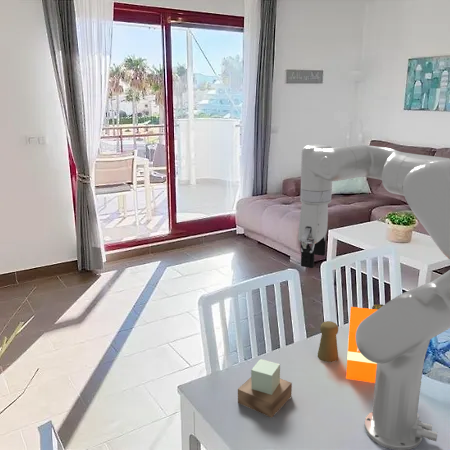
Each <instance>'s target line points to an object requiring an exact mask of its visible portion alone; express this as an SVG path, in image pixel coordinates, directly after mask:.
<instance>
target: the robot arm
mask: <svg viewBox="0 0 450 450" xmlns="http://www.w3.org/2000/svg"><path fill="white" fill-rule="evenodd" d="M300 166H301V167H300V194H299V195H300V202H301V205H300V213H299V214H300V215H299V223H298V237H297V239H298V241H299V242H300V243H301V244H300V247H301V248H300V253H301V254H300V266H301V268H302V267H303V268H309V269H313V268H314V267H315V255H317V256H321V257H324V256H325V255H326V246H327V245H326V244H327V241H326V239H327V236H326V235H327V232H328V222H329V206H328V205H329V204H331V203H332V191H333V190H332V189H333V182H338V181H339V182H341V181H345V180H351V179H355V178H370V179H375V180H380V181H381V182H382V185H383V188H384V189H385V190H386V191H387V192H388V193H390V194H394V195H399V196H403V197H404V198H405V201H406V203H407V204H408V206H409V208H410V210H411V211H412V213H413V214H414V216H415V217H416V219H417V220H418V221H419V223H420V224H421V226H423V228H424V230H425V231H426V232H427V233H428V235H429V236H430V238H431V239H432V240H433V242H434V243H435V245H436V246H437V247H438V249H439V250H440V252H441V253H442V254H443V255H444V256H445V257H446V258H447V259H448V260H450V158H448V157H443V156H442V157H441V156H434V155H426V154H419V153H418V154H417V153H413V152H412V153H411V152H403V151H399V150H396V149H394V148H390V147H385V146H376V145H375V146H374V145H367V144H356V145H355V144H354V145H346V146H340V147H339V146H338V147H332V146H330V145H328V144H307V145H305V146H304V147H303V148H302V150H301V164H300ZM383 305H384V306H382V307H381V308H379V309H378V310H377V311H375V312H374V313H372V314H371V315H370V316H368V317H367V318H366V319H364V320H363V321H362V322H361V323H360V324H359V326H358V328H357V331H356V344H357V347H358V350H359V351H360V353H361V354H362V355H363V356H364V357H365V358H366V359H368V360H370V361H372V362H375V363H377V366H376V377H375V383H374V390H373V391H374V393H373V400H372V402H373V403H372V411H371V412H369V413H368V414H367V415H366V416H365V418H364V430H365V431H366V434H367V435H368V437H369V438H370V439H371V440H373V442H375V443H376V444H377V445H380V446H381V447H384V448H387V449H390V450H413V449H415V448H417V447H418V446H419V445H420V444H421V443H422V440H423V438H425V439H427V440H429V441H433V442H438V441H437V440H438V439H437V438H438V432H437V431H433V424H431V423H430V424H429V423H426V422H422V420H419V418H420V413H418V410H419V402H420V395H421V385H422V384H421V383H422V378H423V371H424V370H423V369H424V363H425V358H426V355H427V351H428V349H429V345H430V342H431V340H432V339H433V338H436V337H437V336H439V335H440V334H442V333H444V332H446V331H447V330H450V269H449V270H448V271H446V272H445V273H442V274H441V275H440V276H439V277H437V278H435V279H433V280H432V281H429V282H428V283H424V284H421V285H419V286H416V287H414V288H411V289H410V290H407V291H405V292H403V293H401V294H399V295H397V296H395V297H394V298H392V299H391V300H388V302H385V304H383Z"/></svg>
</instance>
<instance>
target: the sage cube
mask: <svg viewBox="0 0 450 450" xmlns="http://www.w3.org/2000/svg"><path fill="white" fill-rule="evenodd" d="M250 371H251V372H250V374H251V376H250V377H251V389H254V390H257V391H260V392H264V393H267V394H270V395H272V394H273V392H274V391H275V389H276V388H277V386H278V385H279V383H280V378H281V364H280V363H277V362H273V361H270V360H266V359H262V358H260V359H259V360H258V361H257V362H256V363H255V365H254V366H253V367H252V368H251V370H250Z"/></svg>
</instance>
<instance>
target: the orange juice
mask: <svg viewBox="0 0 450 450" xmlns="http://www.w3.org/2000/svg"><path fill="white" fill-rule="evenodd" d="M375 311H377V309H372V308H369V307H368V308H367V307H359V306H358V307H357V306H350V313H349V314H350V315H349V327H348V337H347V338H348V339H347V353H346V354H347V356H346V357H347V359H346V360H347V361H346V375H345V379H346V380H351V381H352V380H353V381H360V382H366V383H371V384H375V377H376V366H377V363H375V362H372V361H370V360H368V359H366V358H365V357H364V356H363V355H362V354H361V353H360V351H359V350H358V347H357V344H356V331H357V328H358V326H359V324H360V323H361V322H362V321H363V320H364V319H366V318H367V317H368V316H370V315H371V314H372V313H374V312H375Z"/></svg>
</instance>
